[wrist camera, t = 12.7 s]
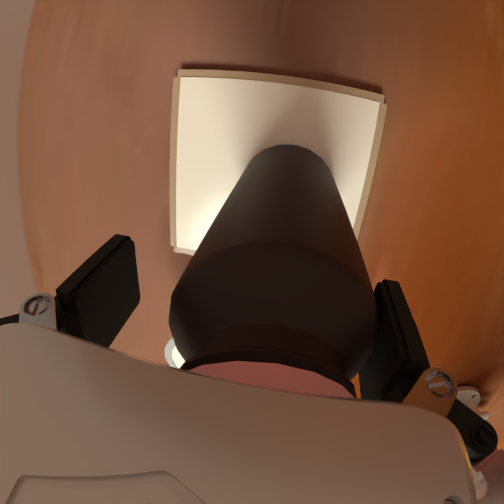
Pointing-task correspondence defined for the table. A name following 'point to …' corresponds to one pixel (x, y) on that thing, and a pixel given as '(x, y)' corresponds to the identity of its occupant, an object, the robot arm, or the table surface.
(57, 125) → the table surface
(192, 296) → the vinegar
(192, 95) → the plate
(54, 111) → the table surface
